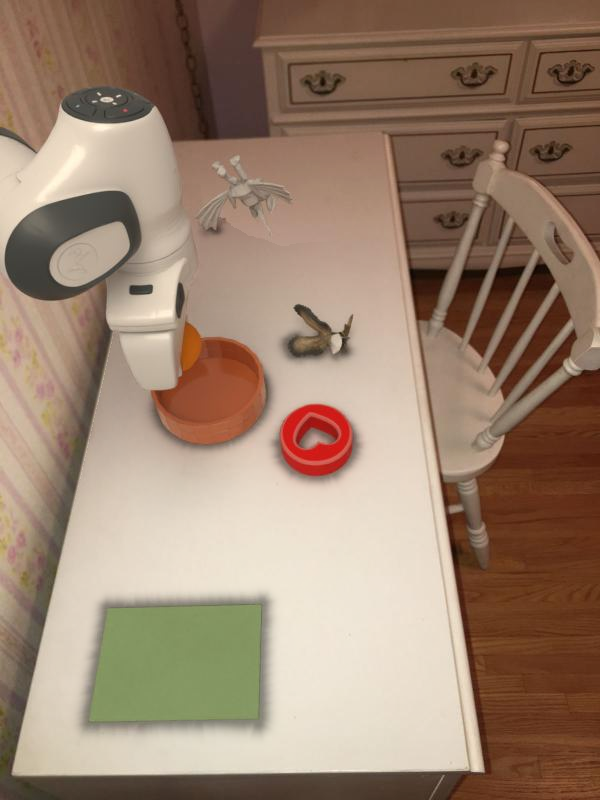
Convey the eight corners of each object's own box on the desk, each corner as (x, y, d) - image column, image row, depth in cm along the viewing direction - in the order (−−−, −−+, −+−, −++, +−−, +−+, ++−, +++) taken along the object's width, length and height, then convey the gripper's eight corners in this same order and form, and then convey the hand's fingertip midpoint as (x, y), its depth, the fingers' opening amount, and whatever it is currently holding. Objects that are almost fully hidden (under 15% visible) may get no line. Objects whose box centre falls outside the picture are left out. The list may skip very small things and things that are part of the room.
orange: (175, 388, 74) (165, 354, 69) (149, 360, 76) (137, 326, 72) (215, 362, 76) (207, 328, 71) (187, 336, 78) (179, 302, 74)
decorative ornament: (322, 404, 91) (322, 391, 89) (366, 449, 86) (367, 437, 84) (267, 439, 88) (265, 427, 86) (309, 489, 83) (309, 477, 81)
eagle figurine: (350, 318, 99) (293, 306, 99) (356, 310, 92) (294, 297, 92) (341, 366, 99) (283, 354, 98) (345, 362, 92) (284, 349, 91)
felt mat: (89, 722, 68) (88, 721, 68) (108, 608, 75) (107, 608, 75) (258, 719, 68) (258, 718, 67) (261, 605, 75) (261, 604, 74)
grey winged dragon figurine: (309, 227, 110) (271, 177, 98) (220, 256, 117) (174, 212, 105) (307, 181, 114) (270, 127, 102) (220, 212, 121) (176, 165, 109)
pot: (199, 465, 86) (193, 447, 83) (137, 395, 94) (129, 376, 90) (288, 401, 92) (286, 382, 88) (223, 340, 99) (218, 320, 96)
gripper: (134, 192, 69) (161, 287, 80) (102, 333, 57) (139, 422, 68) (192, 190, 69) (211, 285, 80) (173, 331, 57) (198, 420, 68)
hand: (178, 349), depth 74 cm, fingers closed on orange, 5 cm apart
